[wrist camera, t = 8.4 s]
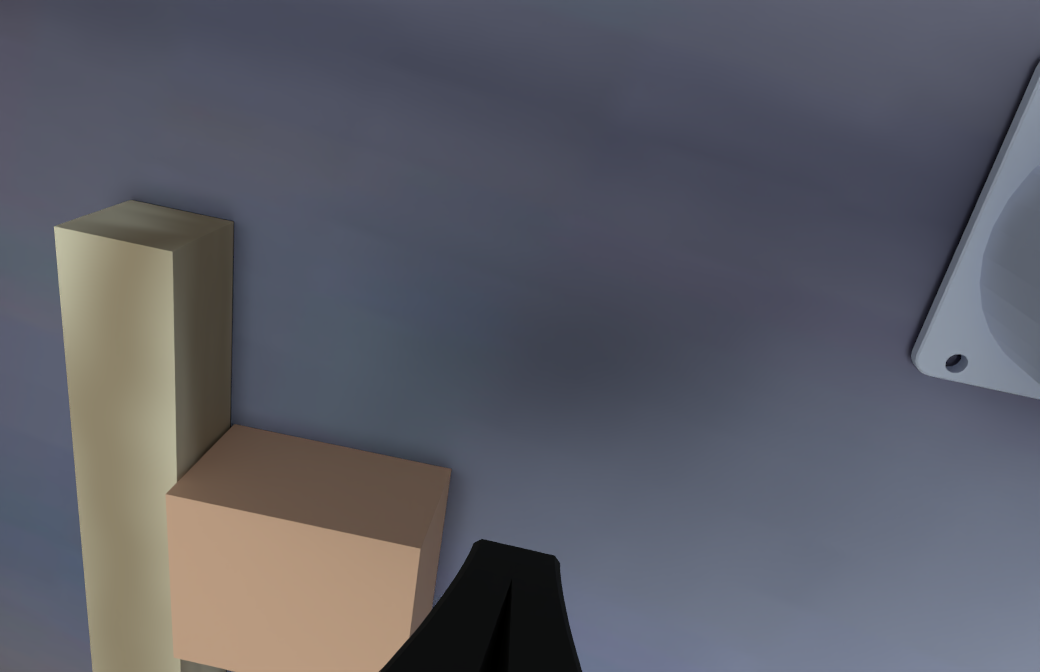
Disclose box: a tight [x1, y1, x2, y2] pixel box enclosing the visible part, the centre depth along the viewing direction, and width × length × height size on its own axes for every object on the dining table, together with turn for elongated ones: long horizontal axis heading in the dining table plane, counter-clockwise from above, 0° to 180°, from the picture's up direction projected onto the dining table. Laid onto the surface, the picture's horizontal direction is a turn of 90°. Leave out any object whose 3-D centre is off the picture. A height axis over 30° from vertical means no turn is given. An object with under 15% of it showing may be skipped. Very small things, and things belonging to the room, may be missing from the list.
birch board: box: [54, 200, 234, 672], centre depth 23 cm, size 3×20×3 cm, turn 170°
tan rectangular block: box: [165, 424, 451, 672], centre depth 22 cm, size 7×6×4 cm
